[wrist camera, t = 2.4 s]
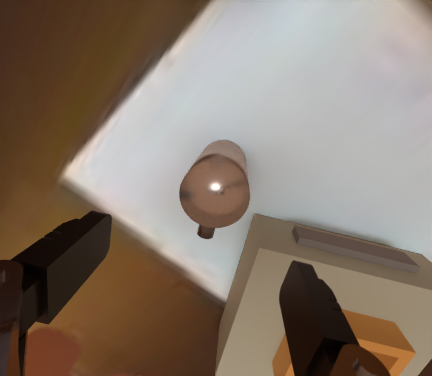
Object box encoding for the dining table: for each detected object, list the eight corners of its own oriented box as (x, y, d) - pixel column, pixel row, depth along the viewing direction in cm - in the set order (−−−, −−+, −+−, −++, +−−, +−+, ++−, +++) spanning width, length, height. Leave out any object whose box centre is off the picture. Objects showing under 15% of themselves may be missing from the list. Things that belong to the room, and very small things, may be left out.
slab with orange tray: (425, 248, 28) (520, 324, 18) (355, 357, 34) (399, 453, 25) (256, 207, 28) (265, 261, 18) (219, 323, 34) (212, 406, 25)
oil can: (205, 135, 25) (186, 154, 16) (251, 146, 25) (258, 172, 16) (193, 195, 28) (169, 243, 19) (234, 205, 28) (232, 258, 19)
